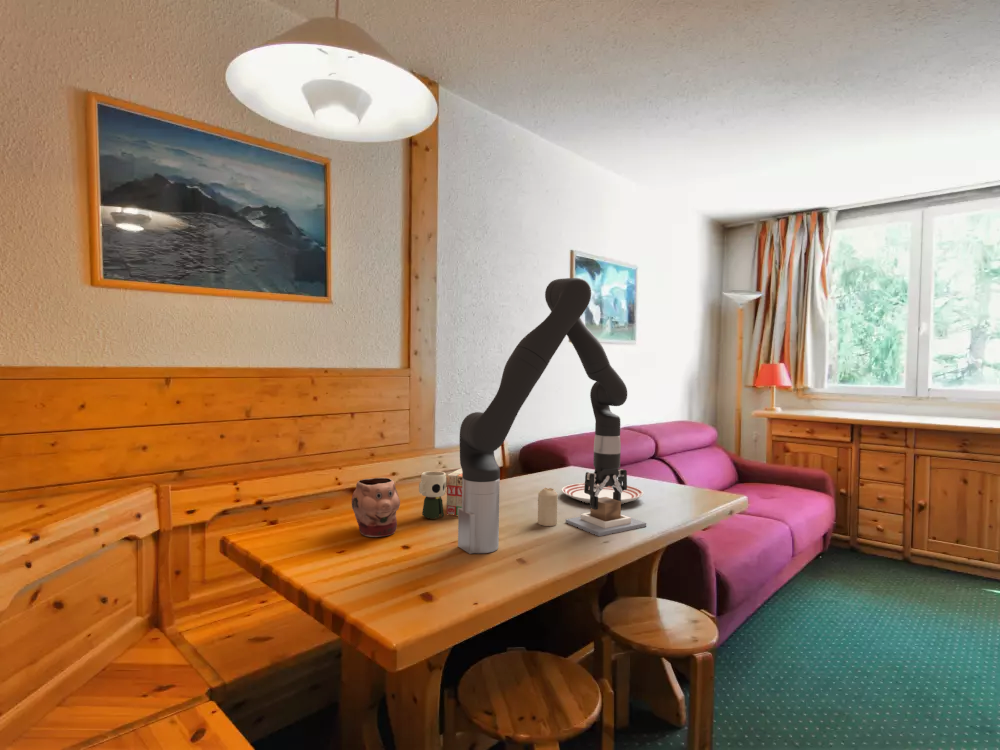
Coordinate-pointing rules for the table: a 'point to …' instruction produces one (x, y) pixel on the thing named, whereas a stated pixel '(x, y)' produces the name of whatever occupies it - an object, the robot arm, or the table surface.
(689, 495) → the table surface
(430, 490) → the character mug
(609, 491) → the dinner plate
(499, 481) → the robot arm
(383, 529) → the decorative planter
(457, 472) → the stack of blocks
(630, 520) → the baseplate
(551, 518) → the candle
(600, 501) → the walnut block
